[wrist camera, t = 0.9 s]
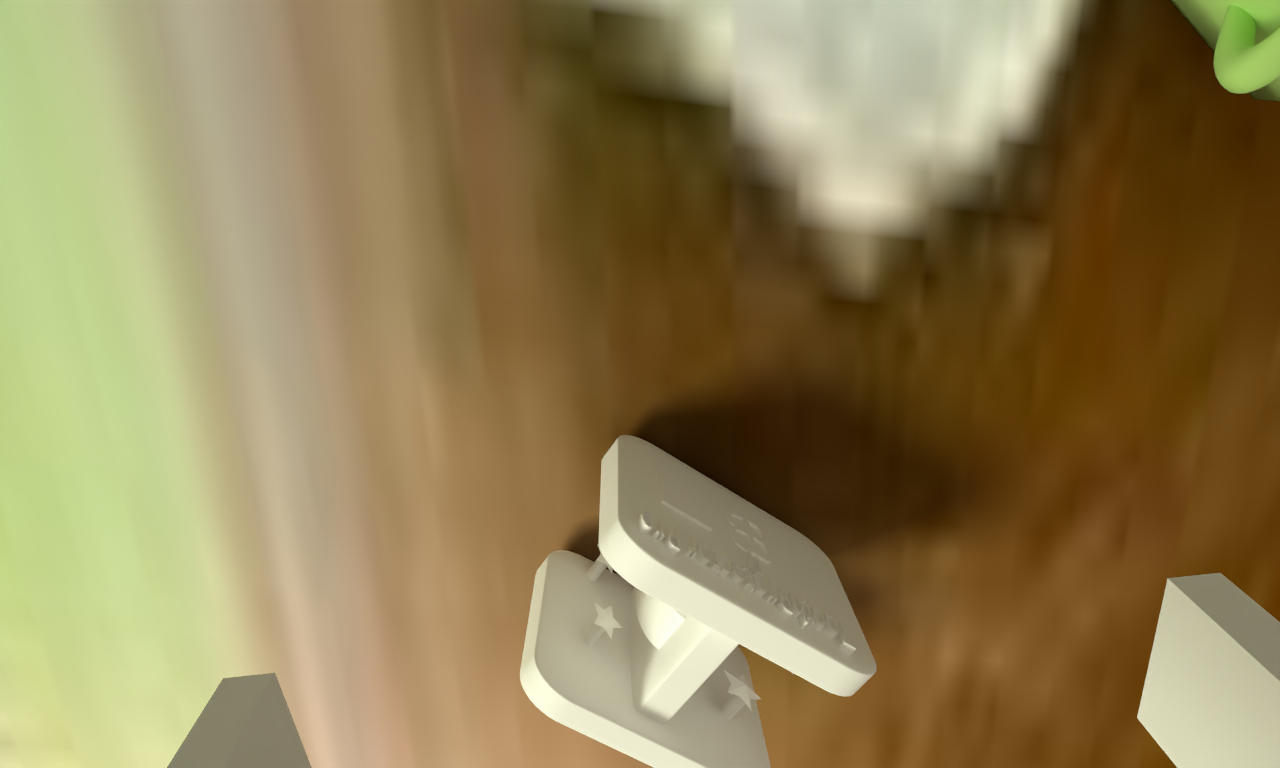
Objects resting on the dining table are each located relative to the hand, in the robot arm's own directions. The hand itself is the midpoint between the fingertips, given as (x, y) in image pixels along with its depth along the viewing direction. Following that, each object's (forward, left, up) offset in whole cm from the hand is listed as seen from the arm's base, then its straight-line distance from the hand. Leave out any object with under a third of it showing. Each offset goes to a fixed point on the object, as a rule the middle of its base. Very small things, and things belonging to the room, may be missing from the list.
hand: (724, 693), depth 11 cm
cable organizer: (+14, -10, -29) cm, 34 cm away
